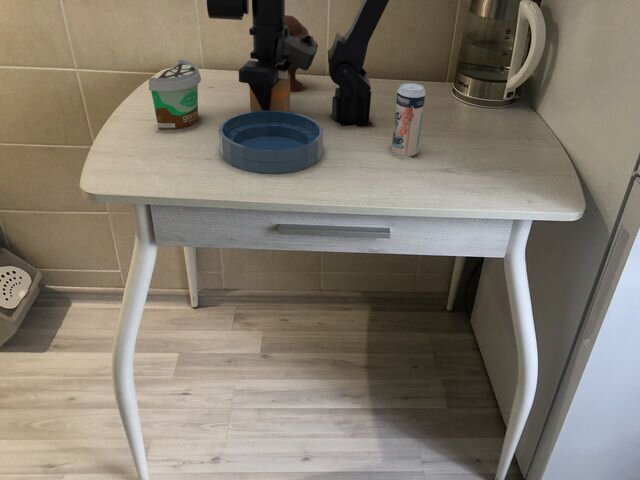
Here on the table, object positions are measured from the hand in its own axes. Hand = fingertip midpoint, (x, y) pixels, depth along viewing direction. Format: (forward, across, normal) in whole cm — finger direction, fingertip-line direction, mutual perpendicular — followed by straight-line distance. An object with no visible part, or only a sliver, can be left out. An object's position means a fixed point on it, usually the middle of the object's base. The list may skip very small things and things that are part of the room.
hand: (270, 106), depth 115 cm
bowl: (+2, -16, -4) cm, 17 cm away
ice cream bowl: (+2, +18, 0) cm, 18 cm away
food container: (+2, -8, +14) cm, 16 cm away
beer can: (+2, -9, -27) cm, 28 cm away
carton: (+2, 0, 0) cm, 2 cm away
